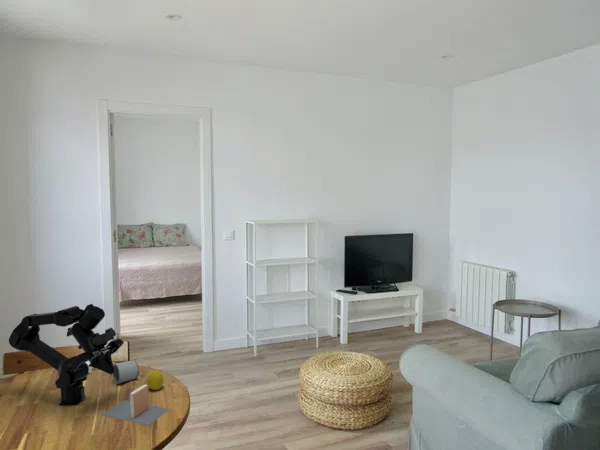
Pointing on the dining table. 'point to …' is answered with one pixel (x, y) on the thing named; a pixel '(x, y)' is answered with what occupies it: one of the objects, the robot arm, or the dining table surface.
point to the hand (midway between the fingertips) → (113, 373)
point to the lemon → (155, 380)
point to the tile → (139, 401)
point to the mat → (145, 417)
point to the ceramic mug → (125, 371)
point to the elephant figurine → (89, 367)
